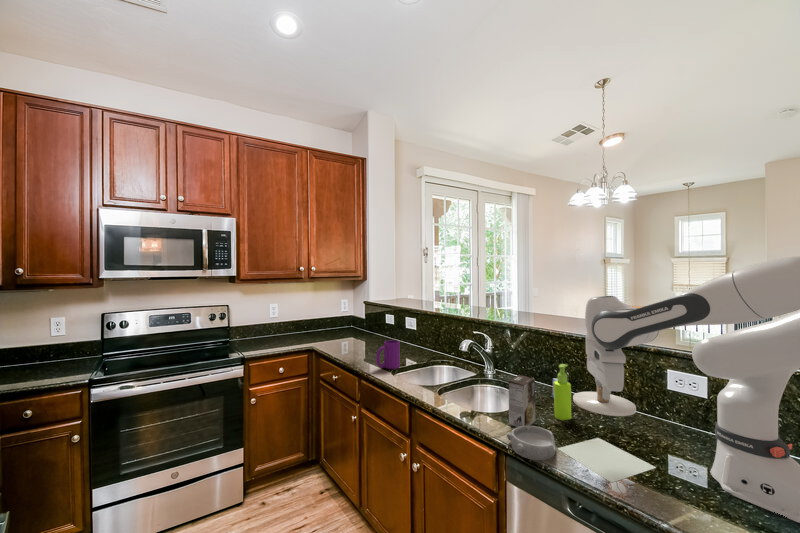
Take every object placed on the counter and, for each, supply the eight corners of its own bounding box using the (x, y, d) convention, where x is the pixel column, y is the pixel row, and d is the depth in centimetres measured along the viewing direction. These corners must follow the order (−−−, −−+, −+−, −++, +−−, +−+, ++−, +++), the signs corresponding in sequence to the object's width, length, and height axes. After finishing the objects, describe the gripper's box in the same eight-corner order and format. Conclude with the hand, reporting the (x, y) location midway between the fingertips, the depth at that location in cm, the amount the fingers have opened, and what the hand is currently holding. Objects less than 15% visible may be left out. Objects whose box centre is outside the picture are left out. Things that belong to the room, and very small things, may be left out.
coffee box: (519, 416, 128) (519, 374, 128) (536, 421, 124) (535, 378, 124) (508, 424, 122) (507, 380, 122) (525, 430, 117) (524, 384, 117)
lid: (646, 408, 96) (646, 390, 96) (618, 421, 88) (618, 402, 88) (591, 391, 110) (590, 376, 110) (562, 401, 102) (561, 384, 102)
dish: (549, 440, 110) (549, 425, 110) (564, 465, 96) (564, 447, 96) (504, 438, 112) (504, 423, 112) (512, 461, 98) (512, 444, 98)
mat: (656, 469, 94) (656, 467, 94) (611, 484, 87) (611, 482, 87) (598, 439, 110) (598, 437, 110) (557, 450, 104) (556, 448, 104)
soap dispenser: (574, 416, 128) (573, 364, 128) (568, 422, 123) (568, 368, 123) (558, 412, 132) (557, 361, 132) (552, 417, 127) (551, 365, 127)
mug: (403, 367, 194) (402, 341, 194) (381, 372, 184) (381, 345, 184) (393, 364, 201) (393, 339, 201) (372, 369, 191) (372, 343, 191)
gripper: (581, 342, 110) (581, 383, 110) (602, 357, 90) (603, 408, 90) (602, 342, 109) (603, 385, 108) (628, 358, 89) (629, 410, 88)
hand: (603, 396), depth 99 cm, fingers closed on lid, 3 cm apart
